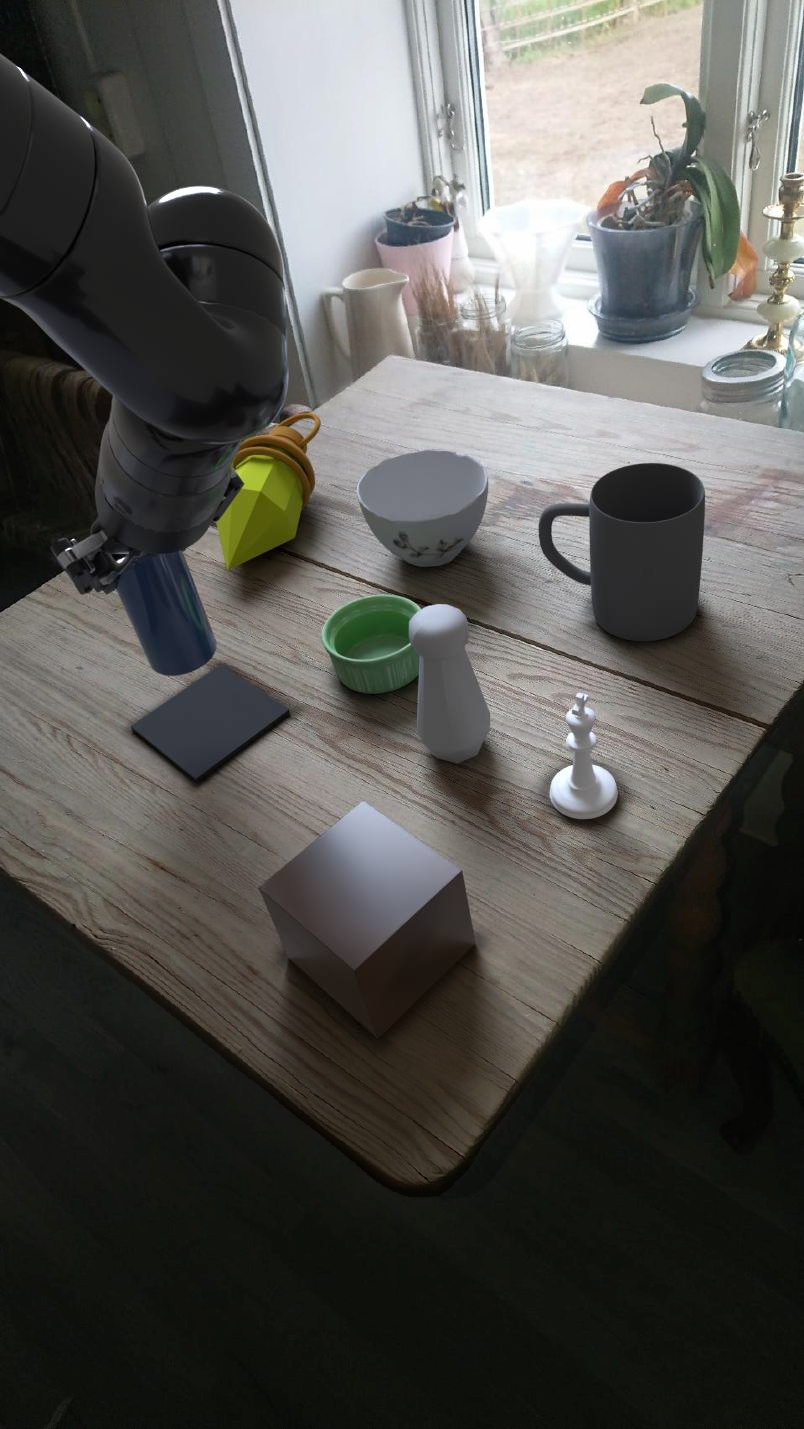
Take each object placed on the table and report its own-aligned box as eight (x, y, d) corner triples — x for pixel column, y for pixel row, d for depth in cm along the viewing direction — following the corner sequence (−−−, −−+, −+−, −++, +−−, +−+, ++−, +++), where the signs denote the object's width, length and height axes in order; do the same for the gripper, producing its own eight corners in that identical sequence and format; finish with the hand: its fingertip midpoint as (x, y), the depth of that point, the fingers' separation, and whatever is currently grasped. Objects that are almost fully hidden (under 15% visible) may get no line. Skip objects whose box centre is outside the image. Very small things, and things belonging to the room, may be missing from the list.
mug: (705, 583, 87) (714, 464, 79) (690, 649, 81) (697, 528, 73) (555, 570, 92) (548, 456, 84) (530, 632, 86) (521, 516, 78)
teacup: (483, 590, 91) (475, 518, 86) (356, 588, 95) (340, 518, 89) (507, 501, 101) (501, 431, 96) (392, 502, 105) (379, 435, 99)
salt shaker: (422, 721, 80) (397, 595, 71) (492, 715, 79) (476, 587, 70) (420, 774, 76) (394, 647, 67) (494, 768, 75) (477, 639, 66)
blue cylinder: (174, 686, 76) (119, 559, 68) (136, 658, 79) (79, 534, 71) (230, 647, 78) (184, 520, 70) (191, 622, 81) (142, 498, 73)
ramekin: (440, 633, 88) (434, 594, 85) (420, 702, 82) (413, 663, 79) (346, 630, 90) (336, 593, 87) (319, 698, 84) (308, 659, 81)
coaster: (197, 782, 79) (195, 779, 79) (131, 729, 85) (130, 726, 85) (290, 712, 83) (289, 709, 83) (222, 667, 89) (220, 663, 89)
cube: (378, 1039, 60) (354, 971, 55) (287, 957, 66) (257, 887, 60) (476, 943, 64) (462, 870, 59) (383, 872, 70) (363, 799, 64)
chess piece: (628, 781, 72) (629, 681, 65) (600, 828, 69) (598, 730, 63) (567, 761, 74) (562, 663, 68) (538, 806, 72) (529, 708, 65)
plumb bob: (288, 596, 96) (352, 439, 111) (242, 528, 90) (316, 371, 105) (214, 608, 100) (286, 455, 115) (165, 543, 94) (247, 390, 109)
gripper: (226, 370, 61) (188, 478, 77) (19, 471, 56) (23, 566, 71) (294, 470, 62) (242, 558, 77) (95, 580, 56) (83, 651, 72)
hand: (137, 561), depth 74 cm, fingers closed on blue cylinder, 5 cm apart
